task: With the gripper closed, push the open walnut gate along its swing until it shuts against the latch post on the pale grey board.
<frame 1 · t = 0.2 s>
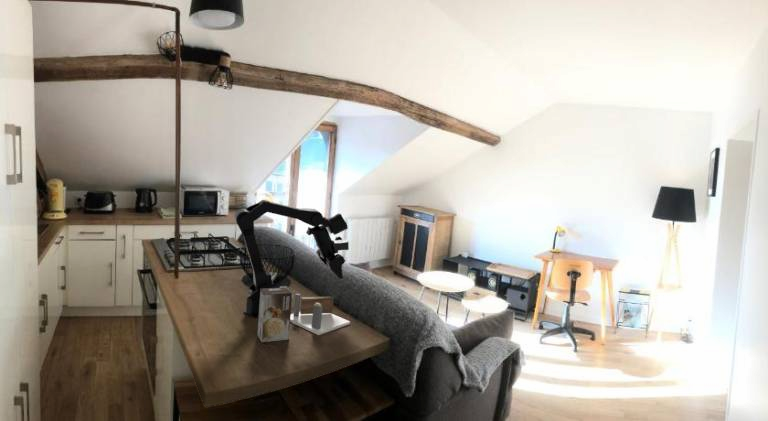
hand: (337, 275, 179), 14 cm above the kitchen island, tool tilted 30°, fingers open, 9 cm apart
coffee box: (272, 338, 151), on the kitchen island
gate: (316, 305, 171), point 5 cm above the kitchen island, hinge at 60.0°
gate frame: (317, 321, 168), on the kitchen island
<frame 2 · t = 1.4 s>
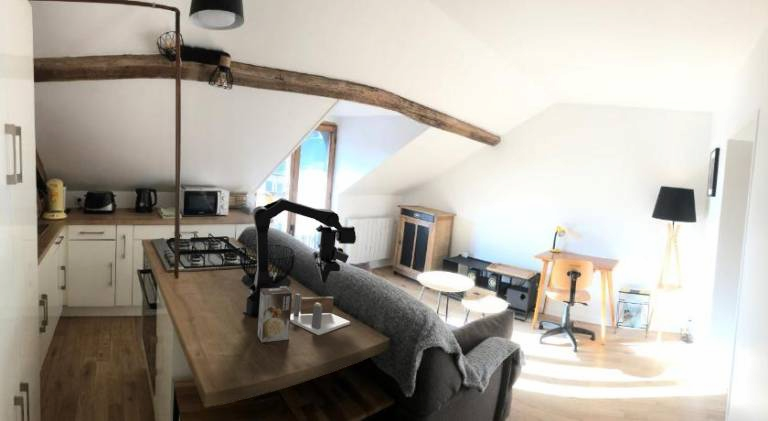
hand: (323, 282, 177), 12 cm above the kitchen island, tool pointing down, fingers closed
nothing on the kitchen island moved.
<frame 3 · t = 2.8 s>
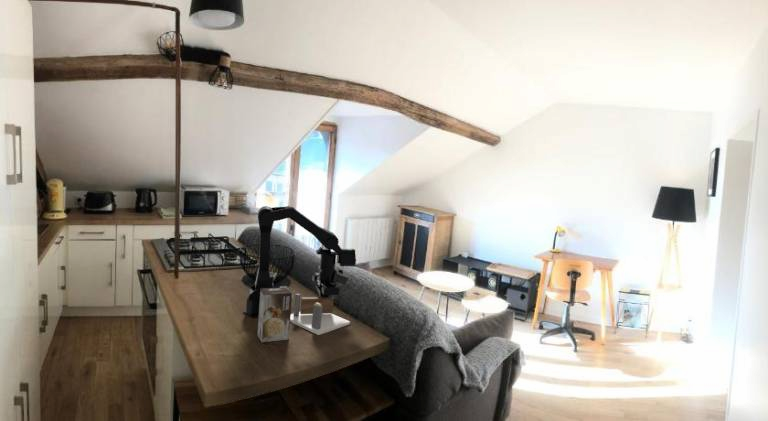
hand: (323, 304, 175), 4 cm above the kitchen island, tool pointing down, fingers closed
gate: (316, 305, 171), point 5 cm above the kitchen island, hinge at 59.4°, touching gripper
everything else where it was.
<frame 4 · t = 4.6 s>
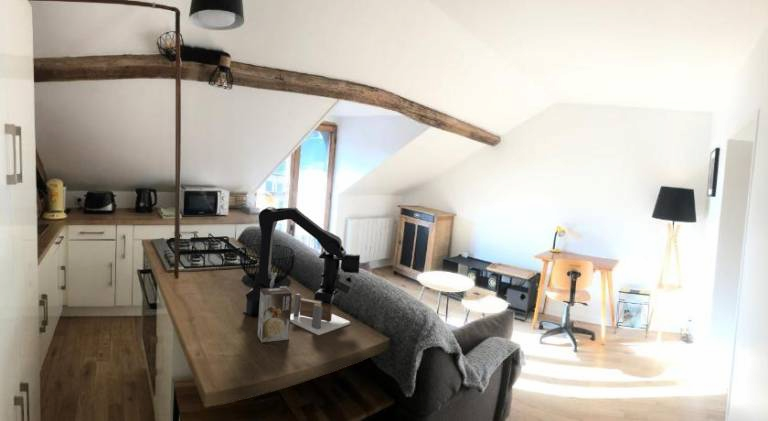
hand: (327, 311, 169), 4 cm above the kitchen island, tool pointing down, fingers closed
gate: (315, 309, 166), point 5 cm above the kitchen island, hinge at 23.1°, touching gripper
everything else where it was.
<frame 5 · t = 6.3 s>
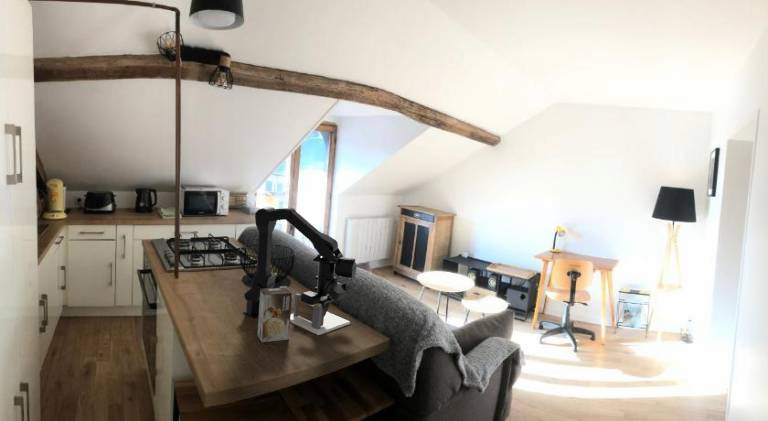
hand: (323, 315, 164), 4 cm above the kitchen island, tool pointing down, fingers closed
gate: (310, 312, 164), point 5 cm above the kitchen island, hinge at -1.3°, touching gate frame, gripper
everything else where it was.
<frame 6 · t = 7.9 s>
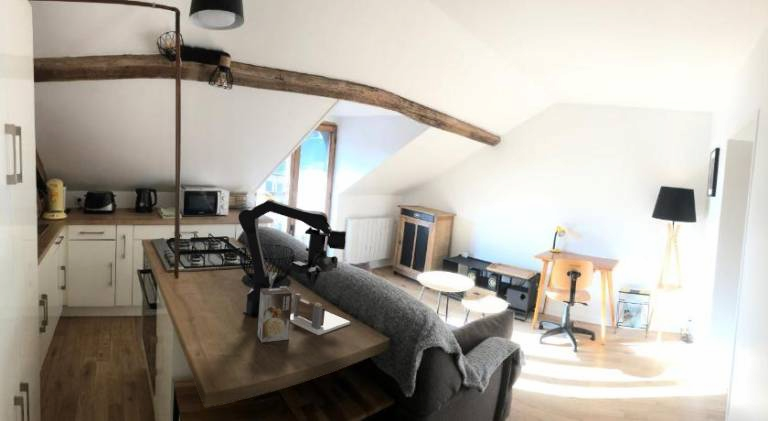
hand: (311, 287, 169), 12 cm above the kitchen island, tool pointing down, fingers closed
gate: (310, 312, 164), point 5 cm above the kitchen island, hinge at -0.6°
everything else where it was.
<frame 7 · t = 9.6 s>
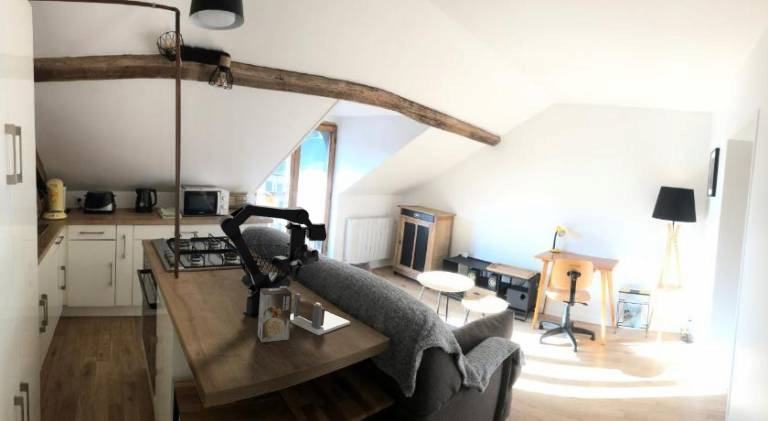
hand: (294, 281, 173), 12 cm above the kitchen island, tool pointing down, fingers closed
nothing on the kitchen island moved.
at the end: gate at -1° (first picture: +60°) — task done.
